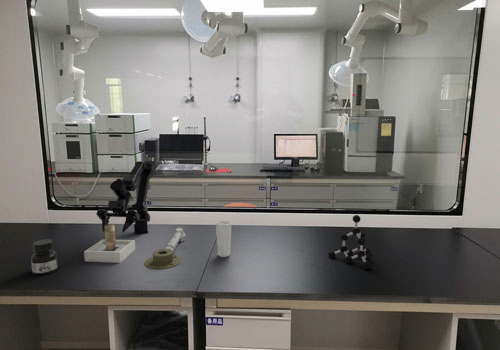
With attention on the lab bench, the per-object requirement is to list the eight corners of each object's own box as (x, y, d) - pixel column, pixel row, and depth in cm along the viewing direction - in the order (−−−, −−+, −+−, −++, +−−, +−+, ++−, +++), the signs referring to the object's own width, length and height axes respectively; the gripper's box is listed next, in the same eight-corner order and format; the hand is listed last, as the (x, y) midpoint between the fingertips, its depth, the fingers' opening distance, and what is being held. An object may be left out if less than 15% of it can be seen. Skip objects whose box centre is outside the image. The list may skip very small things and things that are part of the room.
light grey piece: (161, 248, 153) (175, 224, 177) (162, 262, 154) (176, 236, 178) (173, 248, 152) (185, 224, 176) (174, 262, 154) (186, 236, 178)
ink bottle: (29, 277, 133) (26, 247, 131) (33, 268, 141) (30, 240, 139) (58, 273, 137) (55, 243, 135) (60, 265, 145) (57, 237, 143)
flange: (188, 252, 147) (168, 244, 158) (156, 262, 137) (137, 252, 147) (188, 262, 148) (168, 253, 158) (157, 273, 137) (138, 263, 148)
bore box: (103, 248, 163) (102, 239, 163) (135, 249, 162) (134, 240, 161) (84, 261, 148) (84, 251, 147) (120, 262, 147) (119, 252, 146)
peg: (113, 251, 158) (111, 223, 156) (117, 253, 155) (116, 225, 153) (104, 254, 155) (102, 225, 153) (109, 256, 152) (107, 227, 150)
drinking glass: (233, 253, 157) (233, 221, 155) (228, 258, 151) (227, 225, 149) (220, 251, 159) (219, 219, 157) (213, 257, 153) (213, 223, 151)
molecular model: (368, 271, 138) (371, 222, 135) (326, 257, 153) (327, 213, 150) (389, 259, 150) (391, 214, 147) (348, 248, 164) (350, 206, 162)
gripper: (96, 192, 160) (85, 222, 151) (136, 193, 158) (126, 223, 149) (106, 205, 169) (96, 234, 160) (143, 205, 167) (135, 235, 158)
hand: (113, 231), depth 156 cm, fingers open, 9 cm apart
